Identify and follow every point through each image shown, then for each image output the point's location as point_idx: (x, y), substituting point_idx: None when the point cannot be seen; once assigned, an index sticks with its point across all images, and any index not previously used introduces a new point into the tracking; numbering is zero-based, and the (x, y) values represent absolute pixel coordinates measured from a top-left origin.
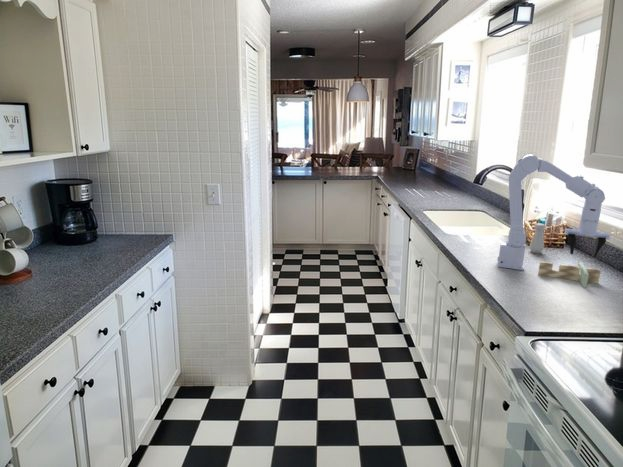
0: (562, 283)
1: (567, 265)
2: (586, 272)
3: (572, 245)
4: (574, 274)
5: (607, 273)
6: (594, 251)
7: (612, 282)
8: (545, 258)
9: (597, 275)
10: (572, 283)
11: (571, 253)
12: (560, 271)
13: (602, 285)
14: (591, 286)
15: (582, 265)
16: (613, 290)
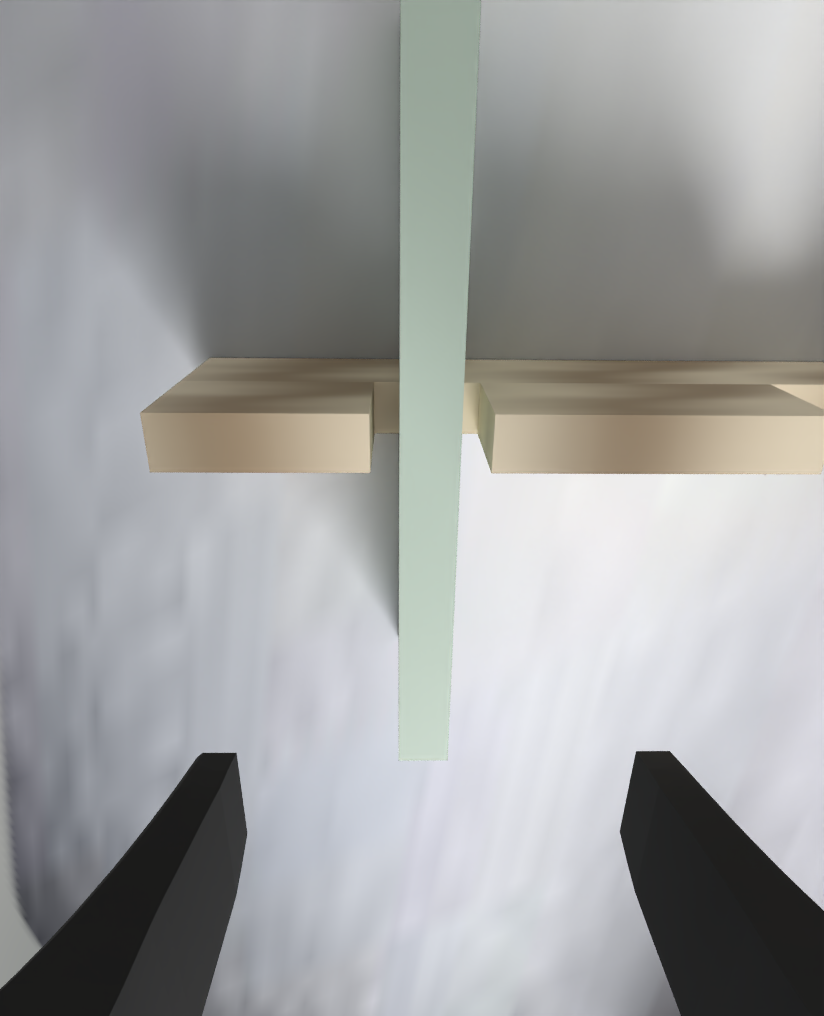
0: (735, 76)
1: (698, 454)
2: (428, 93)
3: (800, 928)
4: (537, 381)
5: (102, 800)
6: (211, 904)
7: (39, 506)
8: (648, 970)
9: (207, 387)
10: (572, 166)
11: (669, 762)
12: (749, 384)
13: (157, 297)
14: (311, 151)
15: (424, 583)
16: (5, 101)
